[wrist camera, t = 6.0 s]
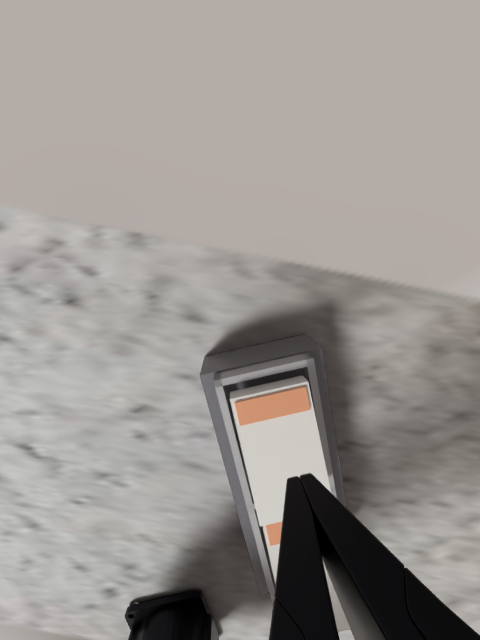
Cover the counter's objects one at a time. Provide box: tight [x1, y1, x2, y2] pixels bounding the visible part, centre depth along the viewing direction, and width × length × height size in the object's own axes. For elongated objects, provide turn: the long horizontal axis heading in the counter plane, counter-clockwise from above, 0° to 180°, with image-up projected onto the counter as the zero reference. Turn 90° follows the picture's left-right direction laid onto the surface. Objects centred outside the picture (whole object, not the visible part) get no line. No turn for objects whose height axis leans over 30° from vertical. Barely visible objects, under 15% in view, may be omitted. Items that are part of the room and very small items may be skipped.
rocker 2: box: [263, 522, 350, 632], centre depth 15 cm, size 4×7×1 cm, turn 13°
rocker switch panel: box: [200, 334, 347, 605], centre depth 16 cm, size 7×17×4 cm, turn 12°
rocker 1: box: [230, 375, 331, 526], centre depth 13 cm, size 4×7×1 cm, turn 12°
